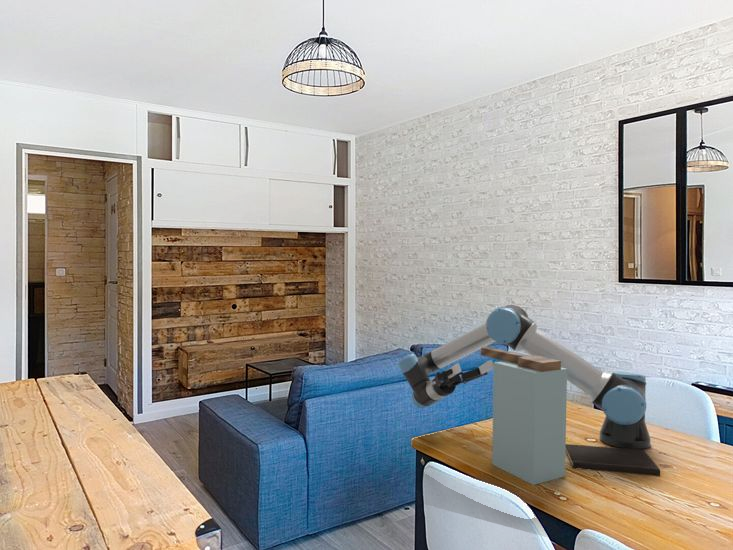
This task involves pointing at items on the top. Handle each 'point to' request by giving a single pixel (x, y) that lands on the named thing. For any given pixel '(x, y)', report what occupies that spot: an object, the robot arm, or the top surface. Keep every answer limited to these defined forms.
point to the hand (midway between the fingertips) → (476, 365)
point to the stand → (529, 422)
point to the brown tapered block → (523, 359)
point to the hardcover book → (611, 459)
